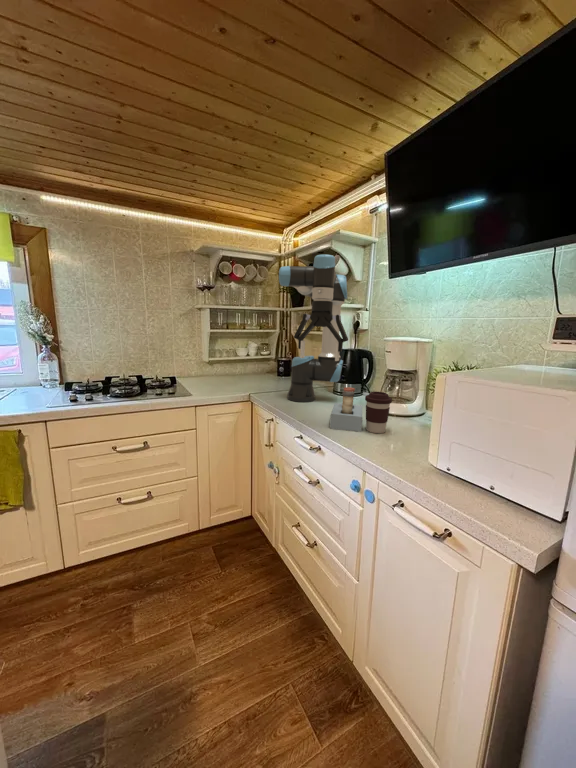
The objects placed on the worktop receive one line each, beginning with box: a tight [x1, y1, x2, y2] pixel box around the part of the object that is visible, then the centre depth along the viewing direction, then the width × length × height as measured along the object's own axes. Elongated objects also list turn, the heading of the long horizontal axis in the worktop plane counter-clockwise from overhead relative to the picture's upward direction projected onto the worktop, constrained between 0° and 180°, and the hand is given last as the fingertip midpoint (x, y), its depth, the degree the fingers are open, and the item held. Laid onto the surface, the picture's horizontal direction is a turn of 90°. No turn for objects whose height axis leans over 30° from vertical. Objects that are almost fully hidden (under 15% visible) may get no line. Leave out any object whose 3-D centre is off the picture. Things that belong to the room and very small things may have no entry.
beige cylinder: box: [341, 391, 355, 414], centre depth 127 cm, size 5×5×9 cm
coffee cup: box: [364, 391, 393, 434], centre depth 124 cm, size 10×10×15 cm
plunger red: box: [343, 387, 356, 409], centre depth 135 cm, size 5×5×9 cm
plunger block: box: [329, 402, 363, 433], centre depth 132 cm, size 18×12×6 cm, turn 167°
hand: (319, 359), depth 119 cm, fingers open, 13 cm apart
